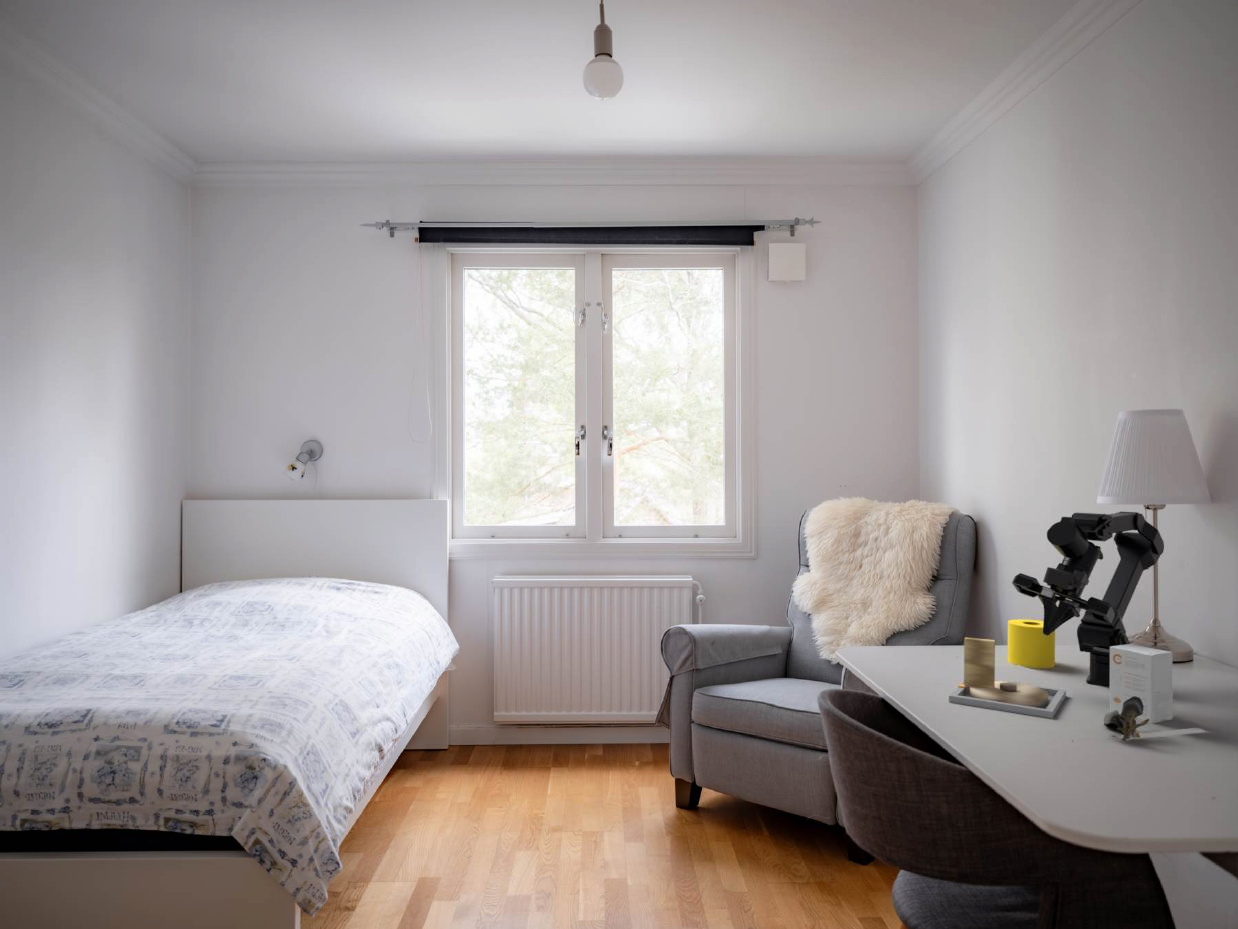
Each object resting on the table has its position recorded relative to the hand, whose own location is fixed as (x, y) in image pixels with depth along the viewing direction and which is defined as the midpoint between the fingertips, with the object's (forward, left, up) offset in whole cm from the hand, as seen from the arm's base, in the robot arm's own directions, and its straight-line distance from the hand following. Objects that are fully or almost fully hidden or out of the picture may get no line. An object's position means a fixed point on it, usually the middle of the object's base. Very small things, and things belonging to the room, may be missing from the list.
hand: (1045, 634), depth 172 cm
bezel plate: (+11, -5, -12) cm, 17 cm away
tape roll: (-28, -7, -12) cm, 31 cm away
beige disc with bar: (+11, -5, -11) cm, 17 cm away
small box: (+8, +17, -12) cm, 23 cm away
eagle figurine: (+20, +16, -13) cm, 28 cm away
